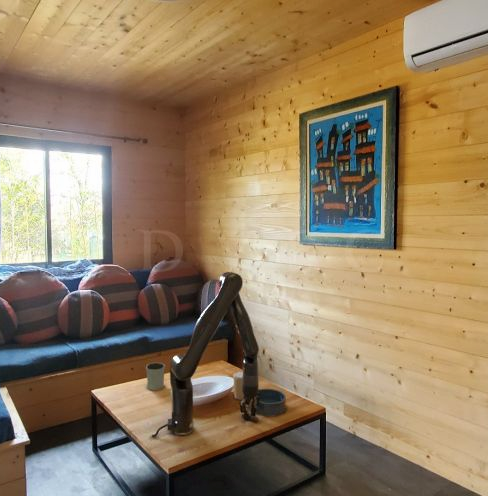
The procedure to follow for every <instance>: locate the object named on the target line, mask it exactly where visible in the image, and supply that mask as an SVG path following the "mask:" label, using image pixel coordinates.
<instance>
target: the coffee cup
mask: <svg viewBox="0 0 488 496" xmlns="http://www.w3.org/2000/svg"><path fill="white" fill-rule="evenodd" d="M242 376H243V370H241V371H239V370H238V371H235V372H234V373H233V376H232V377H233V391H234V392H233V394H234V399H236V400H239V401H242V400H243V398H244V394H243V393H242Z"/></svg>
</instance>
